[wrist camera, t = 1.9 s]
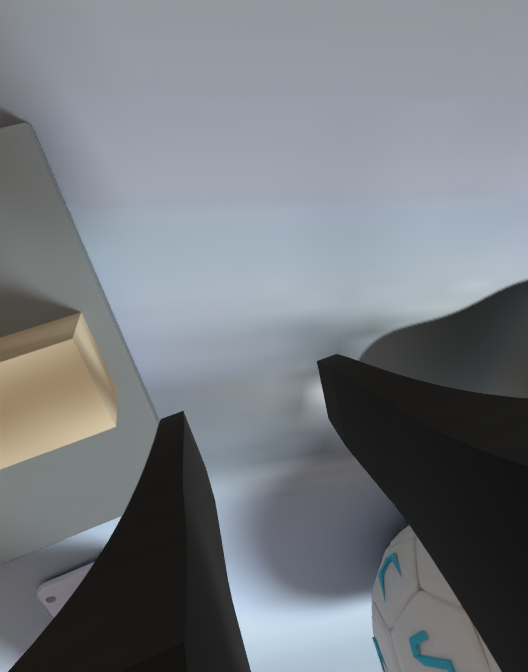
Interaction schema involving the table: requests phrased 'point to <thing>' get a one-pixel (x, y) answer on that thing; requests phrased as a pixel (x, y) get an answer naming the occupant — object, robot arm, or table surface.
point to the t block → (52, 389)
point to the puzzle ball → (422, 616)
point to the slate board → (88, 298)
